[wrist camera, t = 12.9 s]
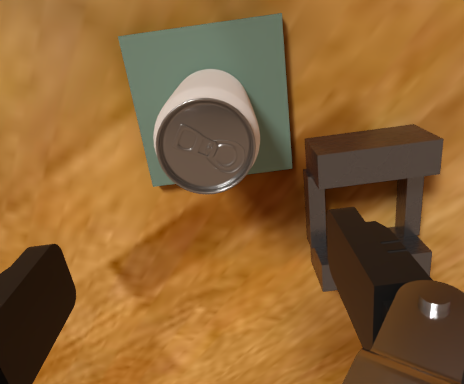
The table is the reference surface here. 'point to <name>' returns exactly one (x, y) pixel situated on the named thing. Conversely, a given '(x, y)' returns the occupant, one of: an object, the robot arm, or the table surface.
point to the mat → (221, 58)
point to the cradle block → (370, 171)
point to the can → (207, 133)
